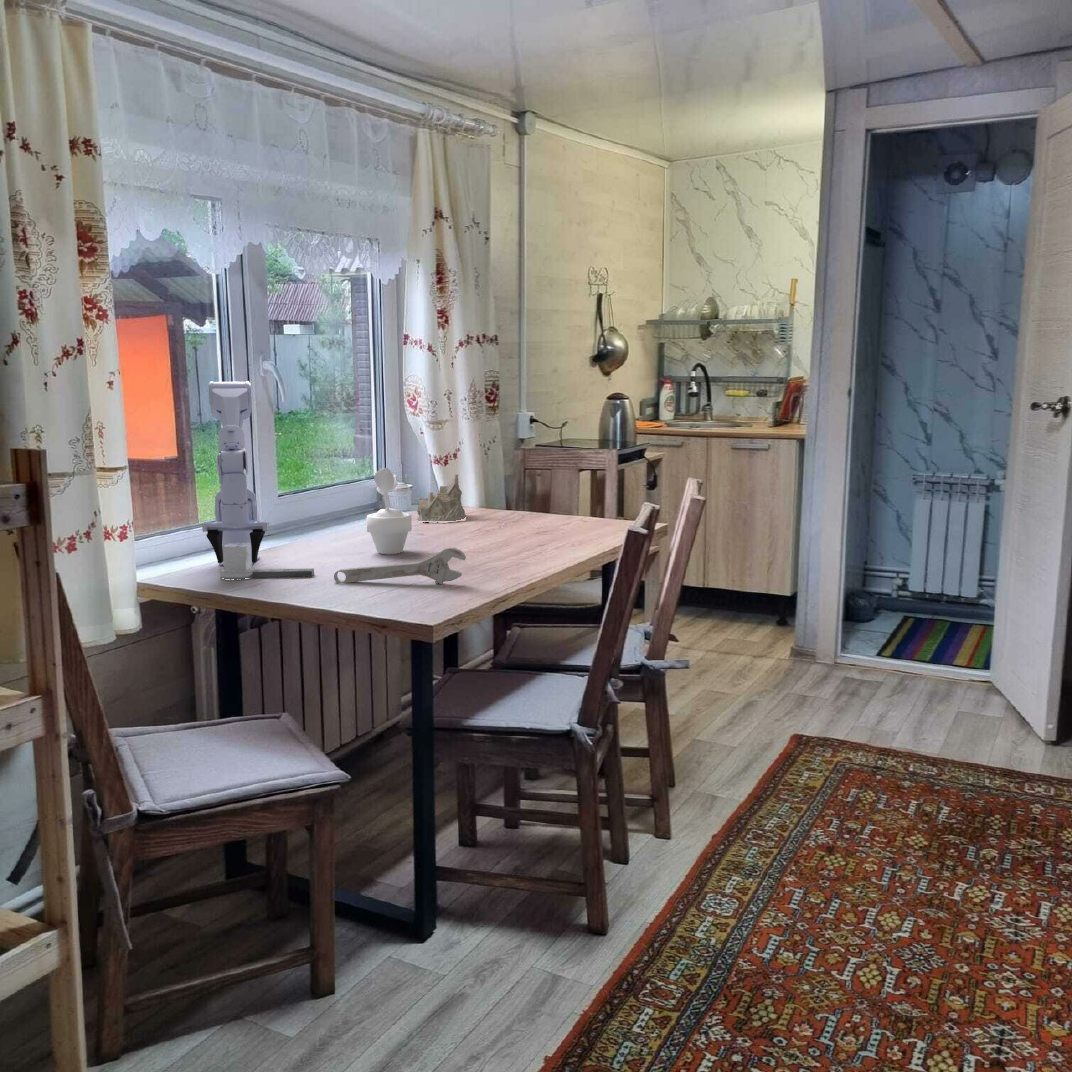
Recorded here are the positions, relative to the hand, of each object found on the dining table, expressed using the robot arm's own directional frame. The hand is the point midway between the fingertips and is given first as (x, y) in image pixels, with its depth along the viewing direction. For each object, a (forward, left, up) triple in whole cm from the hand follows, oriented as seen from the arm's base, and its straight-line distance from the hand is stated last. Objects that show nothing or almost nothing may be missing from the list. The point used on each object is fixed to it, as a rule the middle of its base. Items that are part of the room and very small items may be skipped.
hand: (237, 562), depth 231 cm
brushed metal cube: (0, 0, -2) cm, 2 cm away
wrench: (+9, +38, -4) cm, 39 cm away
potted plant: (-29, +32, -4) cm, 43 cm away
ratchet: (0, +7, -4) cm, 7 cm away
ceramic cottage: (-85, +43, -4) cm, 95 cm away
